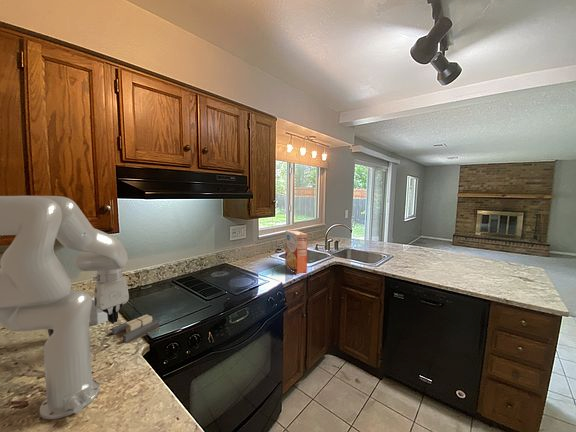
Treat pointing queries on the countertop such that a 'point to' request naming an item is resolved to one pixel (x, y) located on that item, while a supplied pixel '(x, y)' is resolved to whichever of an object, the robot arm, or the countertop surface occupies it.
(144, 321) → the beige cube
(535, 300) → the countertop surface
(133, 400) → the countertop surface
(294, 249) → the pasta box
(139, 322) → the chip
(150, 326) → the slot block
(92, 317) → the skincare box
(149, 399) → the countertop surface
